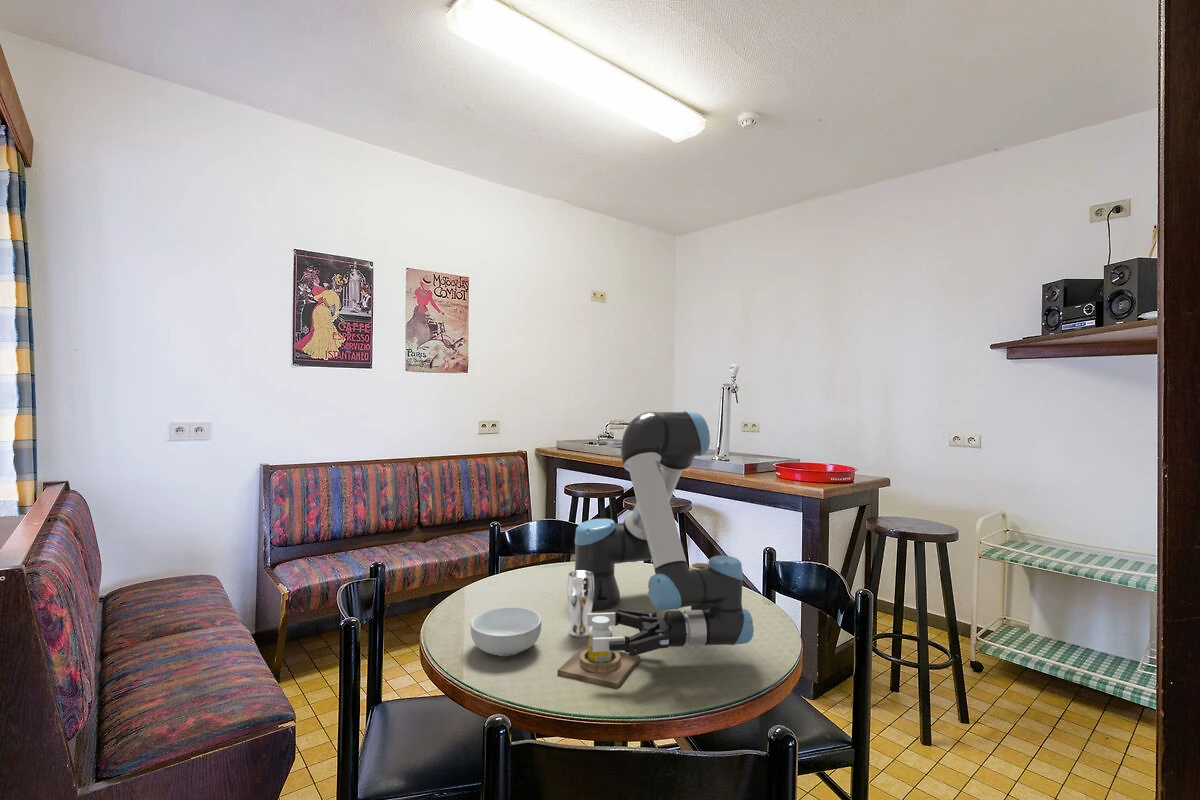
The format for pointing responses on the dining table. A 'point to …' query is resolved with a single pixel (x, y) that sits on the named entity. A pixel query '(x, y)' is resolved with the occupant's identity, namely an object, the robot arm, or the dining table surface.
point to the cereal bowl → (506, 630)
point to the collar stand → (599, 668)
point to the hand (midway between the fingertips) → (589, 631)
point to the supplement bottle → (598, 630)
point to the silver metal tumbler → (580, 601)
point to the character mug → (694, 567)
